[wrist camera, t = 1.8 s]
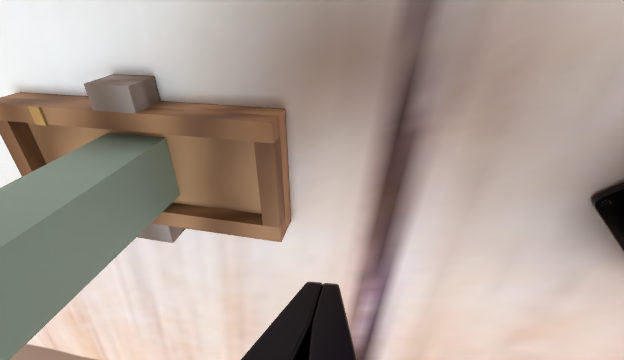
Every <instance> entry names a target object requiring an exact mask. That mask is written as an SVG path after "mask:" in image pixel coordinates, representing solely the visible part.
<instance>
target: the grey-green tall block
mask: <svg viewBox="0 0 624 360" xmlns="http://www.w3.org/2000/svg"><path fill="white" fill-rule="evenodd" d="M179 195H180V193H179V189H178V185H177V181H176V177H175V174H174V170H173V166H172V162H171V158H170V154H169V150H168V146H167V142H166V138H160V137H149V136H137V135H126V134H114V133H106V134H104V135H103V136H101V137H99V138H97V139H95V140H93V141H91V142H89V143H87V144H85V145H83V146H81V147H79V148H77V149H75V150H73V151H71V152H70V153H68V154H66V155H64V156H62V157H60V158H58V159H56V160H54V161H52V162H50V163H48V164H46V165H44V166H42V167H40V168H38V169H37V170H35V171H33V172H31V173H29V174H27V175H25V176H23V177H21V178H19V179H17V180H15V181H13V182H11V183H9V184H7V185H6V186H4V187H2V188H0V360H9V359H11V358H12V357H13V356H14V355H15V354H16V353H17V352H18V351H19V350H20V349H21V348H22V347H23V346H24V345H25V344H26V343H27V342H28V341H29V340H30V339H31V338H32V337H33V336H34V335H36V334H37V333H38V332H39V331H40V330H41V329H42V328H43V327H44V326H45V325H46V324H47V323H48V322H49V321H50V320H51V319H52V318H53V317H54V316H55V315H56V314H57V313H58V312H59V311H60V310H61V309H62V308H63V307H65V306H66V305H67V304H68V303H69V302H70V301H71V300H72V299H73V298H74V297H75V296H76V295H77V294H78V293H79V292H80V291H81V290H82V289H83V288H84V287H85V286H86V285H87V284H88V283H89V282H90V281H91V280H92V279H93V278H95V277H96V276H97V275H98V274H99V273H100V272H101V271H102V270H103V269H104V268H105V267H106V266H107V265H108V264H109V263H110V262H111V261H112V260H113V259H114V258H115V257H116V256H117V255H118V254H119V253H120V252H121V251H122V250H124V249H125V248H126V247H127V246H128V245H129V244H130V243H131V242H132V241H133V240H134V239H135V238H136V237H137V236H138V235H139V234H140V233H141V232H142V231H143V230H144V229H145V228H146V227H147V226H148V225H149V224H150V223H151V222H152V221H154V220H155V219H156V218H157V217H158V216H159V215H160V214H161V213H162V212H163V211H164V210H165V209H166V208H167V207H168V206H169V205H170V204H171V203H172V202H173V201H174V200H175V199H176V198H177V197H178V196H179Z"/></svg>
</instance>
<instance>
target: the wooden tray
mask: <svg viewBox="0 0 624 360" xmlns="http://www.w3.org/2000/svg"><path fill="white" fill-rule="evenodd" d="M84 86H85V89H86V92H87V95H88V97H83V96H67V95H51V94H35V93H15V94H12V95H8V96H5V97H1V98H0V134H1V136H2V138H3V140H4V142H5V144H6V146H7V148H8V150H9V152H10V154H11V156H12V158H13V160H14V162H15V164H16V165H17V167H18V169H19V171H20V173H21V175H22V177H23V176H25V175H27V174H29V173H31V172H33V171H35V170H37V169H38V168H40V167H42V166H44V165H46V164H48V163H50V162H52V161H54V160H56V159H58V158H60V157H62V156H64V155H66V154H68V153H70V152H71V151H73V150H75V149H77V148H79V147H81V146H83V145H85V144H87V143H89V142H91V141H93V140H95V139H97V138H99V137H101V136H103V135H104V134H106V133H114V134H126V135H137V136H149V137H160V138H166V142H167V146H168V150H169V154H170V158H171V162H172V166H173V170H174V174H175V177H176V181H177V185H178V189H179V193H180V195H179V196H178V197H177V198H176V199H175V200H174V201H173V202H172V203H171V204H170V205H169V206H168V207H167V208H166V209H165V210H164V211H163V212H162V213H161V214H160V215H159V216H158V217H157V218H156V219H155V220H154V221H152V222H151V223H150V224H149V225H148V226H147V227H146V228H145V229H144V230H143V231H142V232H141V233H140V234H139V235H138V238H145V239H151V240H158V241H164V242H170V243H173V242H174V241H175V240H176V239H177V238H178V237H179V236H180V234H181V233H182V232H183V231H184V230H185V229H186V228H187V229H194V230H201V231H208V232H215V233H221V234H228V235H235V236H242V237H249V238H256V239H263V240H270V241H277V242H282V239H283V237H284V235H285V233H286V231H287V229H288V226H289V224H290V222H291V210H290V192H289V173H288V155H287V136H286V118H285V109H275V108H259V107H243V106H227V105H211V104H195V103H179V102H163V101H160V99H159V94H158V90H157V86H156V82H155V78H154V76H135V75H114V74H113V75H110V76H107V77H104V78H101V79H98V80H94V81H91V82H88V83H85V84H84Z"/></svg>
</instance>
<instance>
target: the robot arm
mask: <svg viewBox="0 0 624 360" xmlns="http://www.w3.org/2000/svg"><path fill="white" fill-rule="evenodd" d="M605 200H608V201H607V202H606V203H604V204H601V202H603V201H605ZM591 202H592V205H593V206H594V208H595V209H596V211H597V212H598V214H599V215H600V217H601V218H602V220H603V221H604V223H605V225H606V226H607V228H608V229H609V231H610V232H611V234H612V235H613V237H614V238H615V240H616V241H617V243H618V244H619V246H620V247H621V249H622V250H623V252H624V183H622V184H620V185H618V186H615V187H613V188H611V189H608V190H606V191H604V192H601V193H599V194H597V195H595V196H594V197H593V198H592V201H591ZM241 360H357V358H356V354H355V350H354V345H353V341H352V337H351V333H350V329H349V325H348V321H347V317H346V313H345V308H344V304H343V300H342V296H341V292H340V288H339V285H337V284H331V283H324V284H322V283H320V282H307V283H306V284H305V285H304V286H303V287H302V289H301V290H300V291H299V292H298V293H297V294H296V296H295V297H294V298H293V299H292V300H291V302H290V303H289V304H288V305H287V306H286V307H285V309H284V310H283V311H282V312H281V313H280V314H279V316H278V317H277V318H276V319H275V320H274V321H273V323H272V324H271V325H270V326H269V327H268V329H267V330H266V331H265V332H264V333H263V334H262V336H261V337H260V338H259V339H258V340H257V341H256V343H255V344H254V345H253V346H252V347H251V349H250V350H249V351H248V352H247V353H246V354H245V356H244V357H243V358H242V359H241Z"/></svg>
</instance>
